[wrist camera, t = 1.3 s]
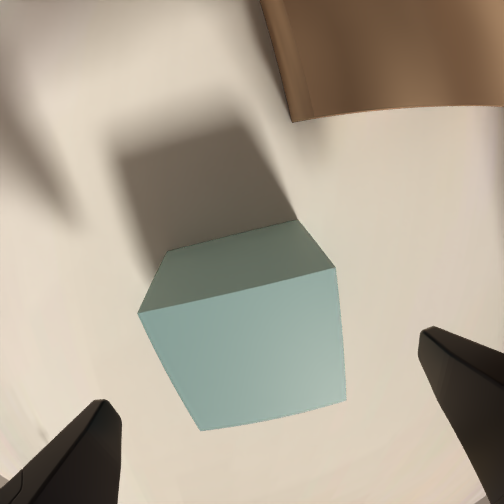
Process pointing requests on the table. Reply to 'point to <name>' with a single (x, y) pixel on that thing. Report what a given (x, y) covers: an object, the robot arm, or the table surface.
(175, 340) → the slate block
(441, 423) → the table surface
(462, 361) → the robot arm
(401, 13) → the walnut plinth
